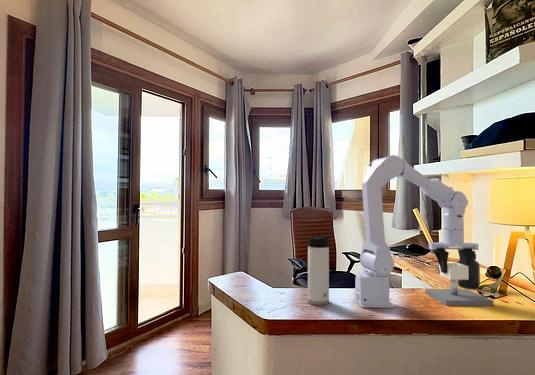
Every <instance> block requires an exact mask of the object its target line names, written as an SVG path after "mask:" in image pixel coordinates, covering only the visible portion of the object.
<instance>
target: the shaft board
mask: <svg viewBox="0 0 535 375" xmlns="http://www.w3.org/2000/svg"><path fill="white" fill-rule="evenodd" d="M449 280H450V281H449V282H450V284H449V288H425V292H424V293H425V294H426V295H427V296H429V297H431V298H432V299H434V300H436V301H437V302H439V303H441V304H442V305H443V306H456V307H457V306H458V307H459V306H460V307H461V306H464V307H468V306H470V307H471V306H472V307H474V306H475V307H479V306H480V307H485V306H486V307H494V300H492V299H490V298H488V297H487V296H484V295H482V294H479V293H476V292H475V291H472V290H470V289H469V288H462V289H461V288H460V289H459V285H458V279H449Z"/></svg>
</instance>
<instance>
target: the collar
mask: <svg viewBox="0 0 535 375" xmlns="http://www.w3.org/2000/svg"><path fill="white" fill-rule="evenodd" d="M439 269H440V268H439ZM439 271H440V272H439V274H440V275H439V276H441V277H444V278H446V279H448V280H450V279H463V280H469V273H468V266H466V265H463V264H460V263H458V262H447V273H443V272H441V269H440V270H439Z"/></svg>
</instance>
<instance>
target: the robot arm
mask: <svg viewBox="0 0 535 375" xmlns="http://www.w3.org/2000/svg"><path fill="white" fill-rule="evenodd" d="M395 178H402V179H404V180H406V181H408V182H410V183H412V184H413V185H416V186H418V187H419V188H421V190H422V193H423V195H425V196H427V197H429V198H430V199H431V200H433V201H435V202H437V204H438V206H439V207H440V208H441V209H442V242H441V241H440V242H428V249H429V250H432V252H433V254H434V255H435V257H436V259H437V261H438V265H439V269H441V272H443V273H447V263H448V259H449V255H450V252H449V251H447V250H457V252H458V258H459V260H460V264H463V265H466V266H468V267H469V264H470V261H471V259H472V258H473V256H474V255H475V254H476V251H479V243H476V242H465V228H464V225H465V222H464V221H465V220H464V216H465V213H466V209H467V206H468V205H469V200H468V198H467V196H466V195H465V194H464V192H463V191H459V190H457V191H456V190H454V188H453V187H452V186H448V185H446V184H445V183H443V182H442V179H441V178H435V177H434V178H428V177H427V176H425V175H424V174H423V173H421V172H419V170H417V169H415V168H414V167H413V166H411V165H410V164H408V163H407V160H405V159H404V158H401V157H400V156H398V155H394V154H391V155H389V156H385V157H382V158H375V159H373V160H371V162H370V163H369V164H368V165H366V172H365V175H364V177H363V180H362V182H361V191H362V204H363V216H364V217H363V218H364V235H365V242H363V244H362V245H361V252H360V256H359V262H360V265H361V266H362V267H363V272H361V273H360V272H359V273H358V272H357V273H356V274H355V279H354V280H355V281H354V282H355V284H354V285H355V286H354V287H355V288H354V289H355V290H354V292H355V294H354V295H355V297H354V300H355V301H356V302H357V303H358V304H359V305H360V307H362V308H381V309H383V308H384V309H385V308H387V309H389V308H391V309H392V308H396V306H395V305H394V304H393V303H392V302H391V301H390V276H391V273H392V272H393V270H394V268H395V260H394V258H393V256H392V254H391V249H390V247H389V245H388V244H387V242H386V235H385V222H384V210H383V209H384V208H383V198H382V197H383V196H382V189H383V187H385V185H386V184H387V183H388V182H390V181H391V180H393V179H395Z"/></svg>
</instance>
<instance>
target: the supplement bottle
mask: <svg viewBox="0 0 535 375" xmlns="http://www.w3.org/2000/svg"><path fill="white" fill-rule="evenodd" d="M457 263H460V259H458V261H457ZM480 268H481V265H480V262H478V261H477V253H475V255H474V256H473V258H472V259H471V261H470V264H469V267H468V273H469V280H463V279H458V287H461V288H463V289H468V290H470V289H471V290H477V288H478V287H479V285H480V286H481V274H480V272H481V269H480ZM478 289H479V288H478Z"/></svg>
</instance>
